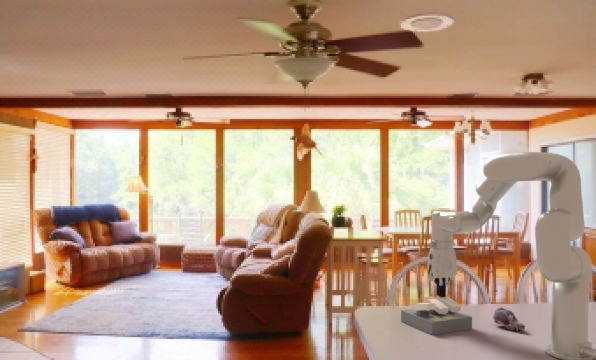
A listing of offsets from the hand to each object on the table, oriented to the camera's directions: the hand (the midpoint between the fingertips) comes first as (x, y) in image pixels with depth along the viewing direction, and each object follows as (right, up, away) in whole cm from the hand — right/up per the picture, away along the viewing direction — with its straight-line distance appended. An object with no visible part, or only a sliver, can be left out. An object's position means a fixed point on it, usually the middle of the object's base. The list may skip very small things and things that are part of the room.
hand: (441, 295), depth 187 cm
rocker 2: (-3, -2, -6) cm, 7 cm away
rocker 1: (-8, -2, -8) cm, 12 cm away
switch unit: (-3, -9, -6) cm, 11 cm away
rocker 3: (+2, -2, -3) cm, 4 cm away
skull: (+21, -9, -9) cm, 25 cm away
